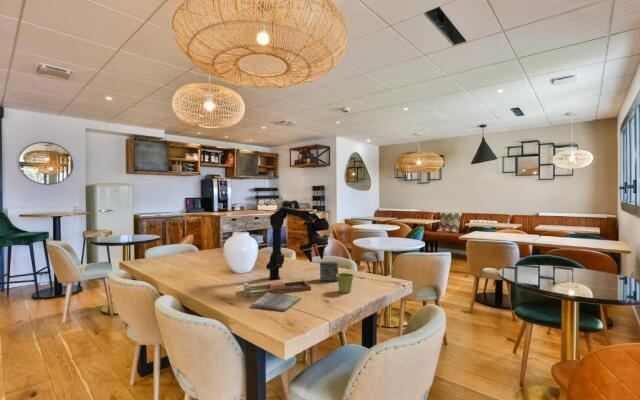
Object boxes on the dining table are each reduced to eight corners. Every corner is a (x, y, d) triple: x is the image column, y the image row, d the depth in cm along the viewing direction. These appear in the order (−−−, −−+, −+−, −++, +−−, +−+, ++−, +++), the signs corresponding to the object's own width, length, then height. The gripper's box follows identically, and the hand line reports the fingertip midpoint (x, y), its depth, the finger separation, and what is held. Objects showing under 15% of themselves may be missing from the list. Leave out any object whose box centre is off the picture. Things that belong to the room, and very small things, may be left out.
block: (269, 289, 172) (269, 282, 172) (282, 288, 174) (282, 281, 174) (272, 293, 166) (271, 285, 165) (285, 292, 168) (285, 284, 168)
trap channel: (243, 290, 170) (243, 283, 170) (304, 284, 181) (304, 277, 181) (246, 297, 159) (246, 289, 159) (311, 290, 170) (310, 282, 170)
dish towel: (285, 313, 138) (285, 306, 138) (250, 308, 144) (249, 301, 144) (302, 300, 155) (302, 293, 155) (270, 296, 162) (270, 290, 161)
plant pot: (356, 290, 169) (356, 273, 168) (350, 295, 160) (350, 278, 160) (340, 288, 172) (339, 272, 172) (333, 293, 164) (333, 276, 164)
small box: (338, 279, 192) (338, 261, 192) (338, 281, 185) (337, 264, 185) (321, 278, 193) (320, 261, 193) (320, 281, 186) (319, 263, 186)
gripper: (311, 232, 164) (316, 262, 163) (333, 228, 179) (338, 256, 177) (296, 235, 171) (301, 264, 170) (318, 231, 186) (323, 258, 184)
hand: (316, 260), depth 175 cm, fingers open, 9 cm apart
